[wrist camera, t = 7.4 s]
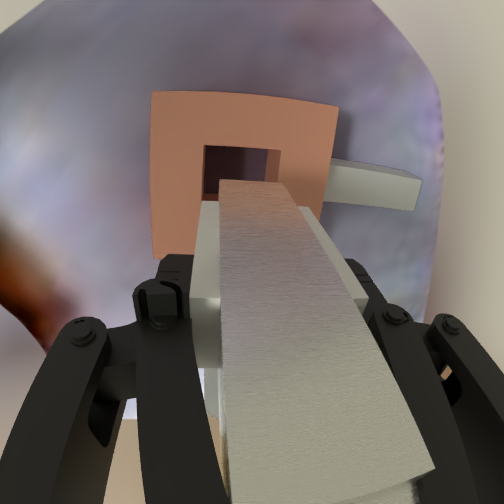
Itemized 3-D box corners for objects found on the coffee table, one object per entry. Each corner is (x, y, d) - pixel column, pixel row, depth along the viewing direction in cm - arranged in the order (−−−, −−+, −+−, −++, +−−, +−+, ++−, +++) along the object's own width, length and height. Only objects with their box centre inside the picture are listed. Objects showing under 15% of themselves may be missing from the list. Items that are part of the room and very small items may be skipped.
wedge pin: (205, 235, 16) (202, 575, 3) (207, 178, 15) (191, 589, 2) (284, 238, 17) (392, 541, 4) (293, 184, 15) (480, 506, 2)
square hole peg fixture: (166, 277, 29) (140, 427, 15) (165, 91, 20) (72, 94, 6) (372, 280, 32) (443, 394, 18) (413, 126, 23) (553, 186, 9)
